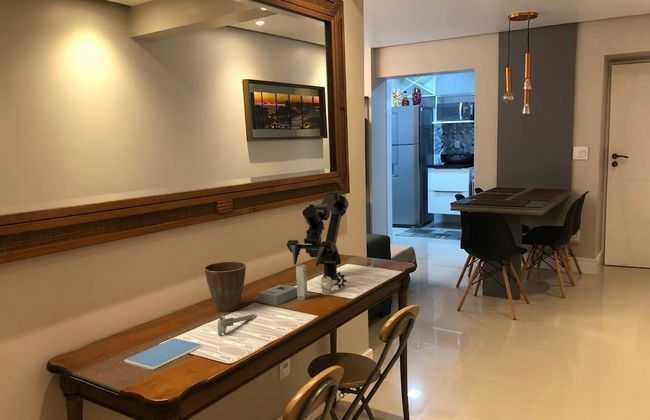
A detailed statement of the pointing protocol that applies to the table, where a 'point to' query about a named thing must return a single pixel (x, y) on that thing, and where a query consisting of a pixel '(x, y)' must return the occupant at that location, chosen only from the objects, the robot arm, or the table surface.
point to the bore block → (277, 294)
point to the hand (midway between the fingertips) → (305, 265)
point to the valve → (332, 283)
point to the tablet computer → (162, 354)
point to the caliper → (231, 322)
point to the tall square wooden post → (301, 282)
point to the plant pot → (226, 284)
